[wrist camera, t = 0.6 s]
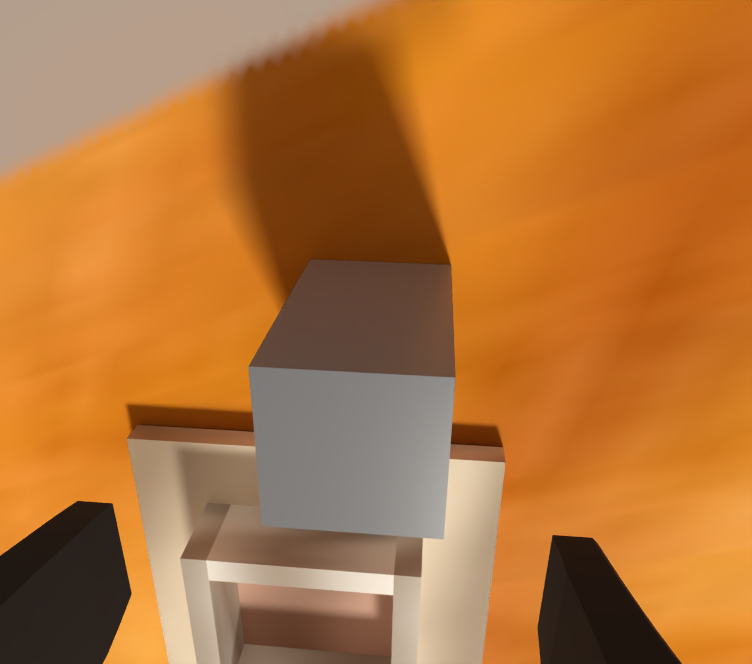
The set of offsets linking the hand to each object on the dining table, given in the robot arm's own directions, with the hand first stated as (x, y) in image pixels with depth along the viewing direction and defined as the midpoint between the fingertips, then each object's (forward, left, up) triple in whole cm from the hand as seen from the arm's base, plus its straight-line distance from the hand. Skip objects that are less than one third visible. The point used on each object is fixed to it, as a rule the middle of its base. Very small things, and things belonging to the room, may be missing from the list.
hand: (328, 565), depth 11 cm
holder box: (+2, +10, -9) cm, 14 cm away
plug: (0, 0, -9) cm, 9 cm away
